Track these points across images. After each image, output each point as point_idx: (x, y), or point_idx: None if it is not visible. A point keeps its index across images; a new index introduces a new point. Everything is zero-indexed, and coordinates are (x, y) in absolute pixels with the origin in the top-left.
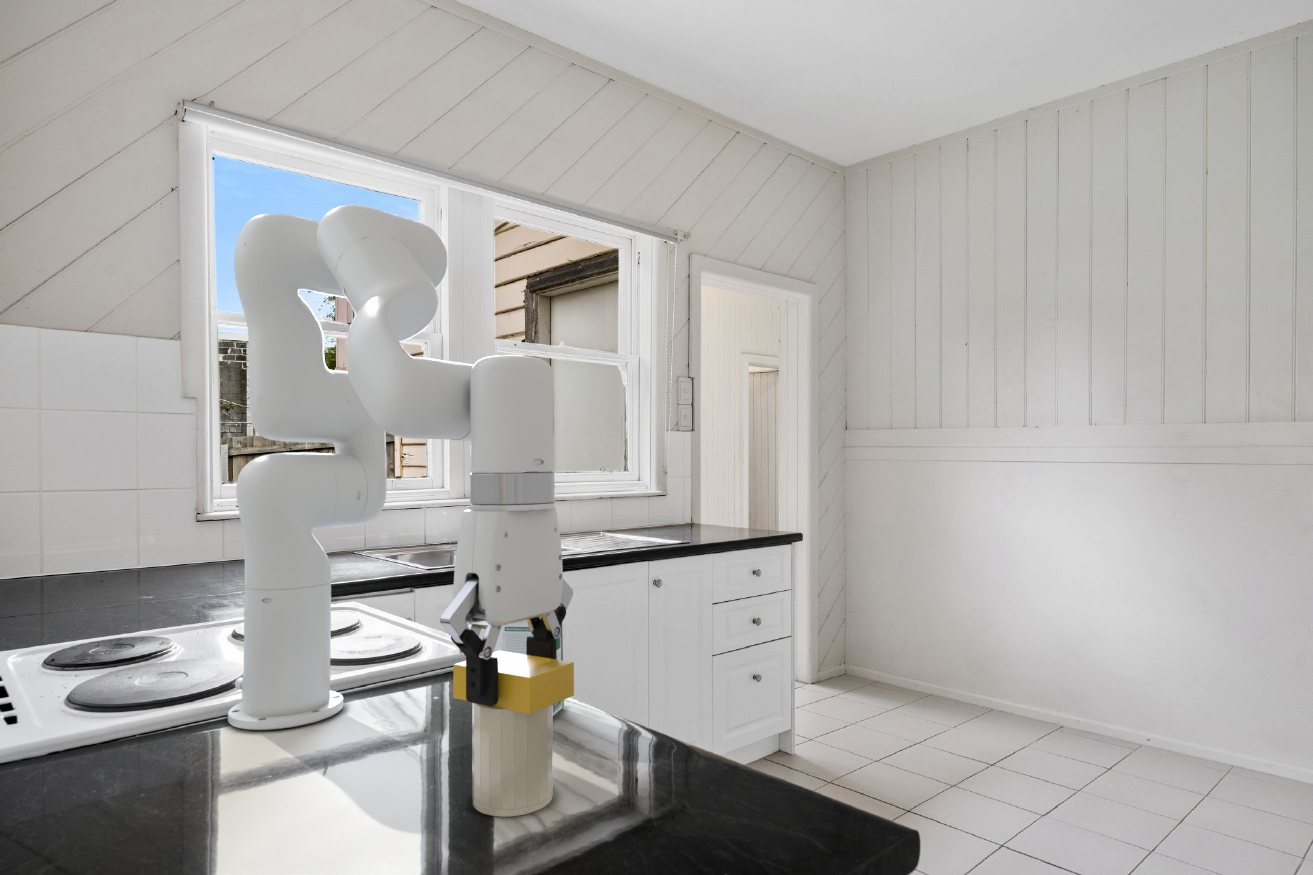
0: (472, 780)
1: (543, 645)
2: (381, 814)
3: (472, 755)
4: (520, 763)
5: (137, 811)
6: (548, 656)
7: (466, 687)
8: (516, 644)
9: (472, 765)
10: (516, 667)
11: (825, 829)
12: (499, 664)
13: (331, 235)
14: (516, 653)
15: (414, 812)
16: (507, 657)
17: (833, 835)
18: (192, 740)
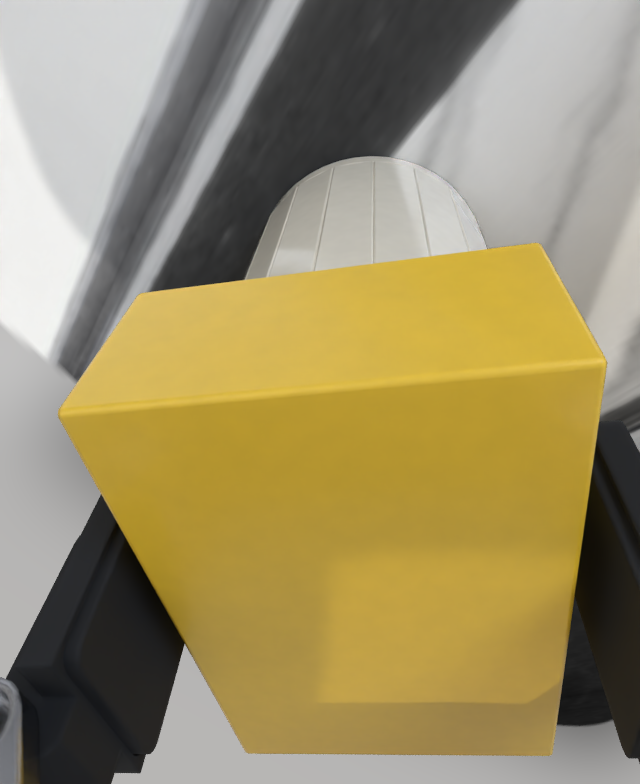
0: (261, 236)
1: (623, 707)
2: (26, 37)
3: (247, 271)
4: None
5: None
6: (600, 660)
7: (101, 500)
8: None
9: (252, 258)
10: (311, 670)
11: (583, 684)
12: (289, 597)
13: None
14: (573, 516)
15: (118, 115)
16: (442, 539)
17: (570, 692)
18: None
